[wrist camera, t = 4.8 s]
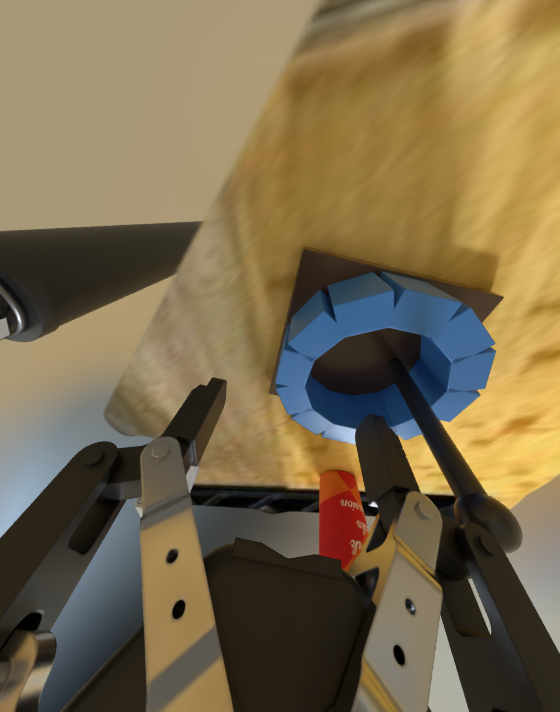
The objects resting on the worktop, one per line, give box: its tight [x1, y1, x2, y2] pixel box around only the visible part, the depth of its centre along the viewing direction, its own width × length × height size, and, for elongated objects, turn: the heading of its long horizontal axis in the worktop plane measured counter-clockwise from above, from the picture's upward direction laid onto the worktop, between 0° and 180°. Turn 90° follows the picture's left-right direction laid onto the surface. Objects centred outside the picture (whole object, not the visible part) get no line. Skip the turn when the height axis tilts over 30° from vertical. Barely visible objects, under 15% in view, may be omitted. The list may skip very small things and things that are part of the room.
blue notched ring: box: [275, 272, 496, 444], centre depth 16 cm, size 14×14×4 cm
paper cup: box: [319, 470, 369, 572], centre depth 27 cm, size 8×8×14 cm
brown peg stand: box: [269, 247, 522, 554], centre depth 13 cm, size 14×14×13 cm
